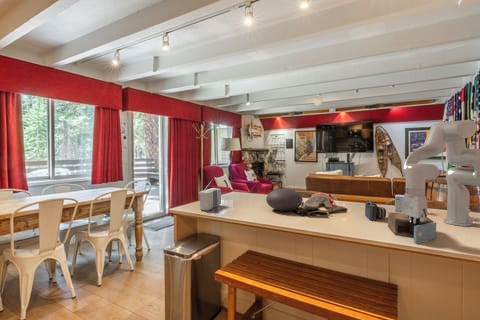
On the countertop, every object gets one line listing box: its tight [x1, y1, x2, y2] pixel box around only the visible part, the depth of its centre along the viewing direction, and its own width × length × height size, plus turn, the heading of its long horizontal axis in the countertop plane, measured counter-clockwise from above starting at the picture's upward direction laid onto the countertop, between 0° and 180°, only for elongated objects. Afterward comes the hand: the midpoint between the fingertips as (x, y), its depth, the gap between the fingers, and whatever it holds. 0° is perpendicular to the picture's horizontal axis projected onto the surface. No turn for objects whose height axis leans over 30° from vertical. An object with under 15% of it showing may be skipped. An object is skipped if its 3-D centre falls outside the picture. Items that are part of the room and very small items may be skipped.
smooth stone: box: [265, 188, 304, 212], centre depth 183 cm, size 25×25×15 cm
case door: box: [413, 222, 437, 244], centre depth 120 cm, size 15×2×7 cm, turn 115°
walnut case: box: [387, 212, 434, 238], centre depth 134 cm, size 16×14×8 cm
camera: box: [364, 200, 387, 222], centre depth 161 cm, size 14×11×10 cm
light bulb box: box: [394, 194, 404, 213], centre depth 177 cm, size 11×7×11 cm, turn 58°
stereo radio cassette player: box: [198, 178, 222, 212], centre depth 192 cm, size 21×8×20 cm, turn 159°
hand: (414, 231), depth 122 cm, fingers closed
